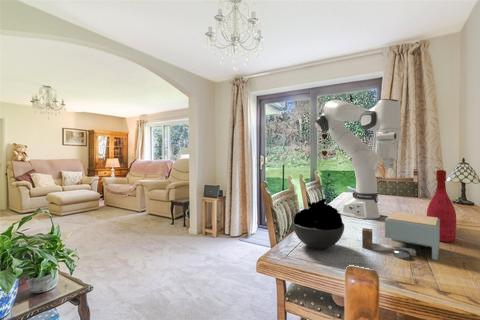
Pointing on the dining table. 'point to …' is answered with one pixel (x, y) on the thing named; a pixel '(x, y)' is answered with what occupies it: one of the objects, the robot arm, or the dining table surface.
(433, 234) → the cabinet
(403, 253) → the steel puck
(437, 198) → the wine bottle
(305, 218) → the coal bowl
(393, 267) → the dining table surface
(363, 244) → the wood-handled metal tool
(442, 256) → the dining table surface
